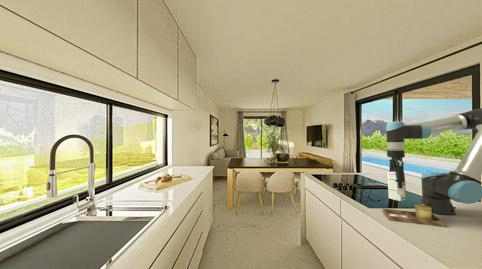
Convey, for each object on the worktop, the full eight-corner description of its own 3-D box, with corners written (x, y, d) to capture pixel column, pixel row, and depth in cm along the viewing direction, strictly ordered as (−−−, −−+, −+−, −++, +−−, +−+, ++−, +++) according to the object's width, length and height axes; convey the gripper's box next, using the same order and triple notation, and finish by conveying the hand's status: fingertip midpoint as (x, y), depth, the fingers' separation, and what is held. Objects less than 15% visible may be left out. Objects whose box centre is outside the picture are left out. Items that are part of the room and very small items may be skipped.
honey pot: (428, 219, 102) (427, 202, 102) (435, 224, 96) (434, 206, 96) (413, 217, 104) (412, 201, 104) (418, 222, 98) (417, 205, 98)
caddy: (432, 219, 103) (431, 213, 103) (445, 228, 92) (444, 222, 92) (382, 213, 112) (382, 208, 112) (389, 221, 101) (388, 216, 101)
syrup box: (401, 201, 100) (400, 173, 101) (388, 198, 106) (387, 171, 106) (406, 199, 103) (405, 172, 103) (393, 196, 108) (392, 170, 109)
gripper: (382, 149, 116) (383, 187, 115) (393, 150, 97) (395, 196, 97) (397, 149, 113) (398, 188, 112) (412, 151, 94) (414, 198, 94)
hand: (397, 192), depth 104 cm, fingers closed on syrup box, 8 cm apart
